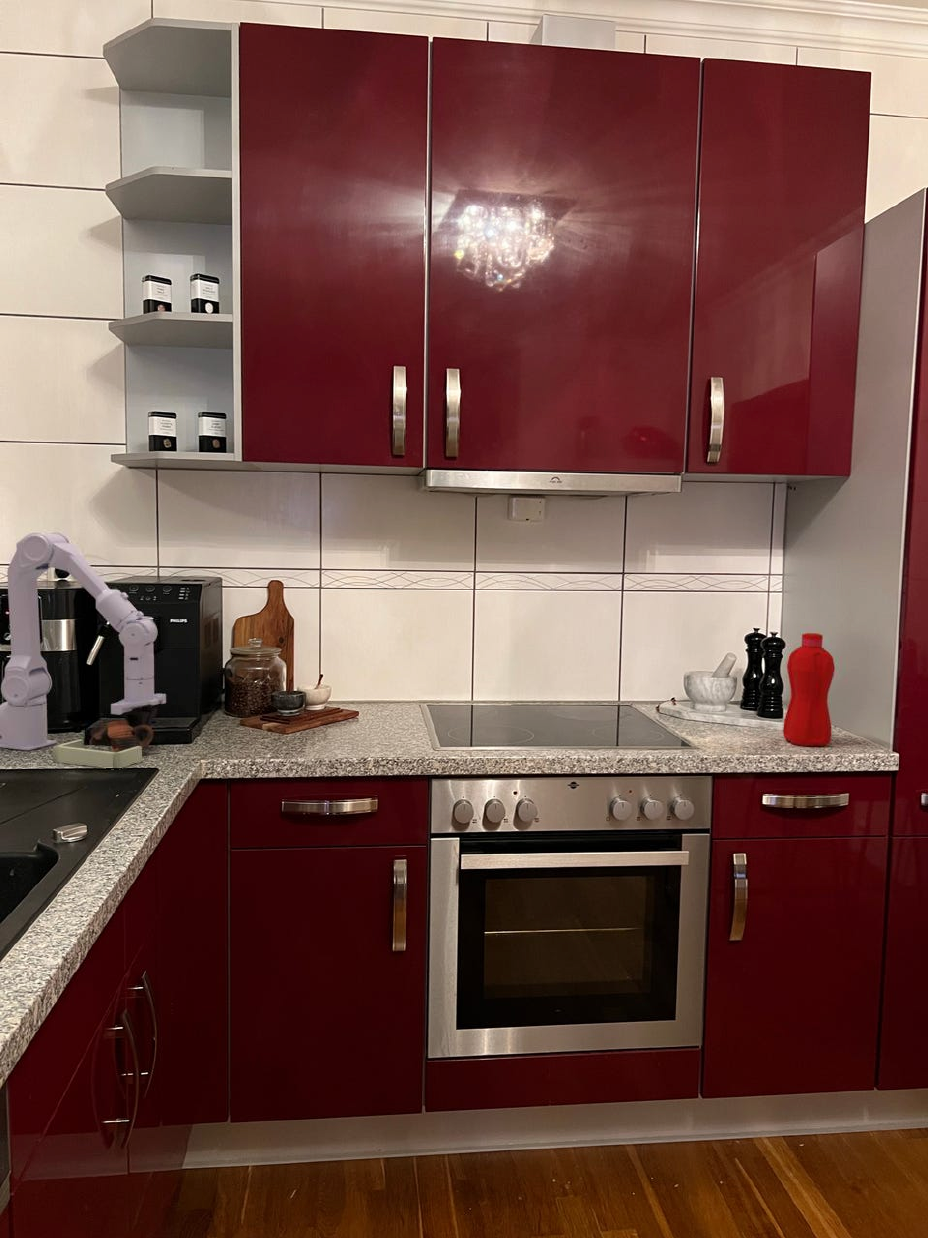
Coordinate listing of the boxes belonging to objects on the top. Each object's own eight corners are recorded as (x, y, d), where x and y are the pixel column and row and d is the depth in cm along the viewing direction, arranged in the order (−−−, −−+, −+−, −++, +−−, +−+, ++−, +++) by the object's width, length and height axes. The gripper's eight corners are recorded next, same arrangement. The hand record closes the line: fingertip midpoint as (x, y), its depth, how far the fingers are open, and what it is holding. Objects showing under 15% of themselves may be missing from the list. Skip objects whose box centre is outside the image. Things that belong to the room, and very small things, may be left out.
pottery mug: (95, 767, 179) (83, 727, 181) (99, 777, 187) (88, 739, 189) (159, 747, 183) (146, 708, 185) (160, 757, 192) (148, 720, 194)
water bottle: (813, 737, 219) (819, 630, 216) (835, 747, 208) (842, 635, 205) (775, 736, 218) (780, 630, 216) (795, 747, 207) (801, 635, 205)
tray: (53, 761, 180) (53, 746, 179) (79, 754, 186) (79, 739, 186) (117, 770, 175) (117, 754, 174) (141, 761, 181) (141, 746, 181)
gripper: (131, 684, 182) (132, 752, 184) (177, 674, 196) (178, 738, 197) (102, 681, 185) (102, 749, 186) (150, 672, 198) (150, 735, 200)
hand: (139, 743), depth 192 cm, fingers closed
